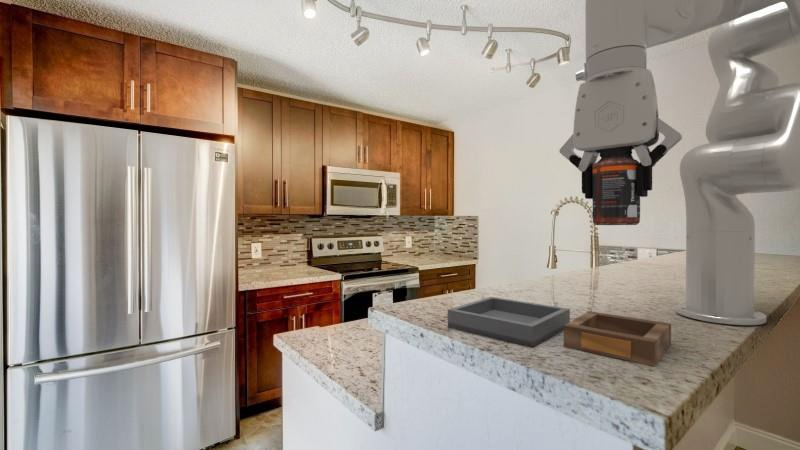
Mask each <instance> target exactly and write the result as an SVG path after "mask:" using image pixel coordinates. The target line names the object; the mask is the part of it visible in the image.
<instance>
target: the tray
mask: <svg viewBox="0 0 800 450" xmlns="http://www.w3.org/2000/svg"><path fill="white" fill-rule="evenodd" d="M570 312H571V310H570V308H568V307H567V308H566V307H561V306H554V305H546V304H541V303H534V302H528V301H523V300H522V301H521V300H514V299H510V298H509V299H508V298H502V297H495V296H489V297H486V298H485V297H484V298H482V299H479V300H475V301H471V302H469V303H465V304H462V305H459V306H456V307H452V308H449V309H447V328H449V329H453V330H458V331H462V332H466V333H469V334H470V333H471V334H474V335H478V336H483V337H487V338H490V339H491V338H492V339H495V340H498V341H499V340H500V341H503V342H508V343H512V344H517V345H520V346H525V347H529V348H534V347H536V346H538V345H540V344H542V343H543V342H545V341H547V340H549V339H551V338H553V337H555V335H558V334H559V333H561V332H564V325H565V324H567V323H569V322H571V320H570V319H571V315H570V314H571V313H570Z"/></svg>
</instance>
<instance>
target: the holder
mask: <svg viewBox="0 0 800 450" xmlns="http://www.w3.org/2000/svg"><path fill="white" fill-rule="evenodd" d="M671 345H672V323H669V322H662V321H658V320H657V321H656V320H649V319H643V318H636V317H630V316H625V315H624V316H623V315H616V314H610V313H603V312H597V311H591V310H590V311H587V312H585V313H584V314H582V315H580V316H578V317H575V319H573V320H570V322H569V323H567V324H565V325H564V330H563V347H567V348H571V349H575V350H580V351H584V352H589V353H592V354H597V355H600V356H606V357H610V358H615V359H619V360H620V359H621V360H623V361H627V362H628V361H629V362H634V363H637V364H641V365H647V366H651V367H655V366H656V365H657V364H658V362H659V361H660V360H661V359H662V357H663V356H664V354H665V353H666V351H668V349H669V348H670V346H671Z"/></svg>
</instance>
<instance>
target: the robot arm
mask: <svg viewBox="0 0 800 450" xmlns="http://www.w3.org/2000/svg"><path fill="white" fill-rule="evenodd" d="M584 8H585V14H584V15H585V62H584V64H583V65H584V67H583V69H581V70H580V71H577V72H575V79H576V82H580V81H582V82H583V83H580V85H579V87H578V91H577V97H576V101H575V102H576V104H575V110H574V119H573V130H572V131H573V133H572V134H571V136H570V137H569V138H568V139H567V140H566V142H565V143H564V144H563V145H562V146H561V147H560V148H559V151H558V152H559V153H560V154H561V155H562V157H564V158H565V159H567V160H568V161H569V162H570V163H571V164H572V165H574V166H575V167H576V168H577V170H578V171H579V172H581V193H582V195H584V198H585V199H586V200H588V199H589V200H592V199H593V198H592V189H593V188H592V176H593V174H592V170H593V166H594V164H595V163H597V161H598V157H599V155H600V149H608V148H616V147H624V146H632V150H634V151H635V155H637V158H638V159H639V166H638V168H637V169H636V194H637V196H640V198H644V197H645V198H647V197H648V194H649V192H648V191H652V190H653V167H655V166H656V164H657V163H658V162H659V161H660V160H661V159H662V158H663V157H664V156H665V155H666V154H668V152H669V151H670V150H671V149H673V147H675V146H676V145H677V144H678V143H679V142H680V141H682V139H683V134H681V133H680V132H679V131H678V130H676V129H675V128H673V127H672V126H671V125H669V124H668V123H666V122H665V121H663V120H662V119H661V118H660V117H659V109H658V97H657V91H656V90H657V89H656V86H655V81H654V80H655V79H654V76H653V73H652V70H651V69H648V68H647V49H649V48H653V47H655V46H656V47H657V46H659V45H663V44H667V43H671V42H674V41H677V40H680V39H683V38H686V37H690V36H691V35H695V34H697V33H701V32H703V31H707V30H709V29H711V28H712V29H713V28H715V27H716V28H715V29H714V30H713V31H711V34H710V35H709V37H708V43H707V51H708V55H709V59H710V62H711V66H712V69H713V71H714V73H715V76H716V78H717V80H718V84H719V87H718V88H719V89H718V92H717V95H716V97H715V100H714V102H713V105H712V107H711V109H710V110H711V111H710V113H709V115H708V118H707V122H706V126H705V137H706V139H707V141H708V142H709V143H704V144H701V145H697V146H695V147H693V148H691V149H690V150H688V151H687V152H686V153H685V154H684V155H683V157H682V158H681V159H680V162H679V175H680V180H681V185H682V189H683V195H684V203H685V218H686V221H685V223H686V224H685V225H686V226H685V235H686V236H685V240H686V241H685V249H686V250H685V251H686V252H685V265H686V266H685V302H681V303H678V304H676V306H675V312H676V313H677V314H678V315H681V316H684V317H686V318H689V319H690V318H691V319H694V320H699V321H703V322H709V323H714V324H721V325H722V324H723V325H733V326H758V325H764V324H766V323H767V315H766V314H765V313H763V312H761V311H758V310H756V309H755V270H756V269H755V253H756V252H755V249H756V248H755V247H756V244H755V242H756V240H755V239H756V237H755V236H756V235H755V233H756V231H755V230H756V224H755V222H756V221H755V218H754V216H753V214H752V212H751V210H750V209H749V208H748V207H747V206H746V205H745V204H744V203H743V202H742V201H741V200H740V199H739V198H738V197H737V196H738V195H744V194H761V193H781V192H789V191H795V190H798V189H800V81H798V82H792V83H787V84H782V85H779V82H780V81H779V76H778V74H777V73H776V72H775V71H774V70H773V69H771V68H770V67H768V66H766V65H765V64H764V63H761V62H758V61H756V60H754V59H752V58H753V57H757V56H760V55H764V54H766V53H770V52H773V51H774V52H775V51H778V50H780V49H783V48H784V49H785V48H787V47H792V46H794V45H797V44H800V0H585V7H584ZM660 134H661V135H663V136H664V139H663V140H662V141H661V142H660V144H657V143H658V142H659V138H660ZM656 144H657V145H656ZM654 145H656V146H655V147H654V148H653V149H652V150H651V149H650V148H649V147H652V146H654ZM574 149H575V150H577V151H580V152H583V154H582V157H581V156H580V155H578V154H576V152H575V151H574Z"/></svg>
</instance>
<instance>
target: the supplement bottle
mask: <svg viewBox="0 0 800 450" xmlns="http://www.w3.org/2000/svg"><path fill="white" fill-rule="evenodd" d="M632 154H633V149H632V146H624V147H616V148H608V149H600V153H599V155H598V157H600V159H599V160H597V161H596V163H595V164H594V166H593V170H592V174H593V176H592V188H593V189H592V198H593V199H591V200H592V222H593V224H594V225H595V226H636V225H638V224H640V221H641V197H640V196H637V194H636V169H637V168H638V166H639V163H640V161H638V159H635V158H634V156H633V155H632Z"/></svg>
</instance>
